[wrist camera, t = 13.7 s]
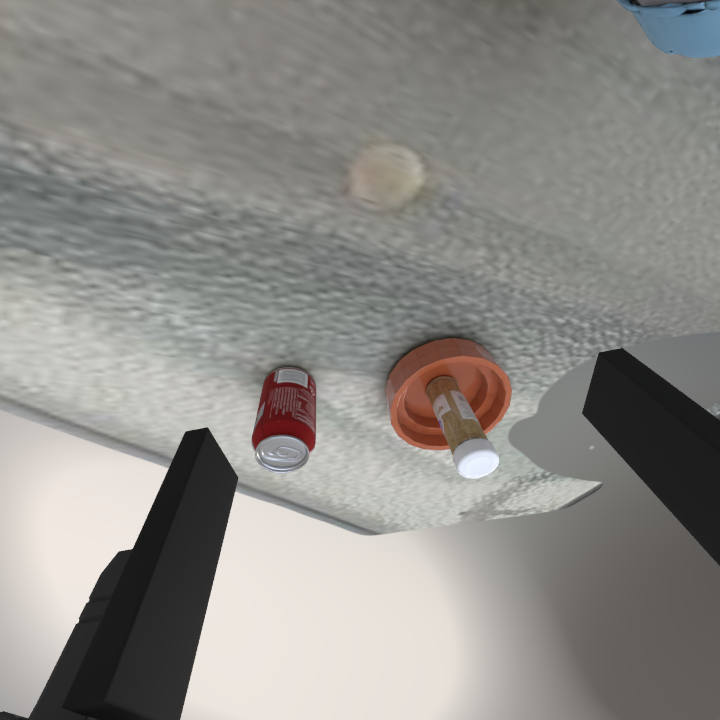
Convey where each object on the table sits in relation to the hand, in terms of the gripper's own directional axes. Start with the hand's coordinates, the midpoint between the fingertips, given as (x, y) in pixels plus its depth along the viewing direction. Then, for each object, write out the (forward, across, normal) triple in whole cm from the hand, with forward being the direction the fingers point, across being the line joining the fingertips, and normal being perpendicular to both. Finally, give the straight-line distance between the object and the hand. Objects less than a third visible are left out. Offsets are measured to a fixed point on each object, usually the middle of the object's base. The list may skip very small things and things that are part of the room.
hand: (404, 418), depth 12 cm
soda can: (+28, -12, -18) cm, 35 cm away
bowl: (+28, +8, -23) cm, 37 cm away
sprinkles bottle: (+28, +8, -23) cm, 37 cm away
